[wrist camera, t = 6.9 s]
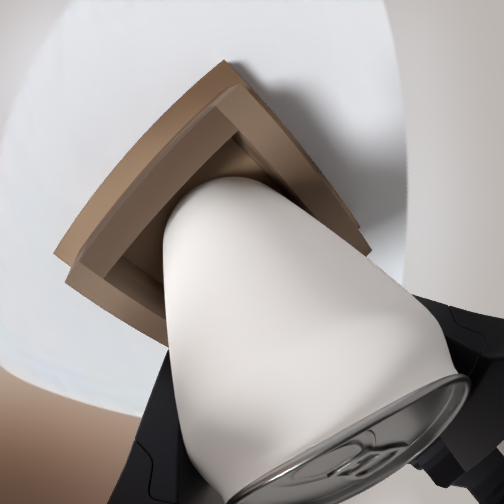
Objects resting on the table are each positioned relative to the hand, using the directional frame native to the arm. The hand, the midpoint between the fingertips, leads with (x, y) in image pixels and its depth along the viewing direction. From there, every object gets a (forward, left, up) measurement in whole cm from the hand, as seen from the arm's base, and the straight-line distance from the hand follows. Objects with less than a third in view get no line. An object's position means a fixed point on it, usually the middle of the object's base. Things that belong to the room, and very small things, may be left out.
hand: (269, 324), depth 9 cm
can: (0, 0, -7) cm, 7 cm away
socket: (0, 0, -8) cm, 8 cm away
